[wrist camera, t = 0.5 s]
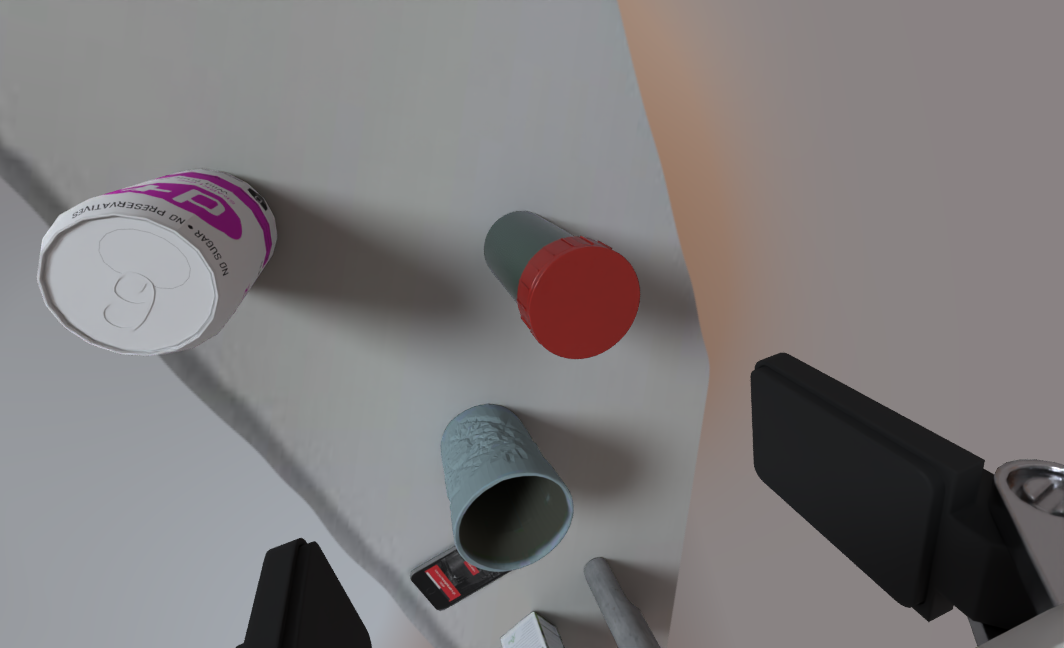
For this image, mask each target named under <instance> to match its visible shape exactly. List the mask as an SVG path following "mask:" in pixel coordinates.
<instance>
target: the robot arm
mask: <svg viewBox="0 0 1064 648" xmlns="http://www.w3.org/2000/svg"><path fill="white" fill-rule="evenodd" d="M751 402H752V428H753V451H754V452H753V455H754V467H755V470H756V472H757V474H758V476H759V477H760V479H761V480H762V481H763V482H764V483H765V484H766V485H767V486H769V487H770V488H771V489H772V490H773V491H774V492H775V493H776V494H778V495H779V496H780V497H781V498H782V499H783V500H784V501H785V502H786V503H788V504H789V505H790V506H791V507H792V508H793V509H794V510H795V511H796V512H798V513H799V514H800V515H801V516H802V517H803V518H804V519H805V520H806V521H808V522H809V523H810V524H811V525H812V526H813V527H814V528H815V529H816V530H818V531H819V532H820V533H821V534H822V535H823V536H824V537H826V538H827V539H828V540H829V541H830V542H831V543H832V544H833V545H834V546H835V547H837V548H838V549H839V550H840V551H841V552H842V553H843V554H844V555H846V556H847V557H848V558H849V559H850V560H851V561H852V562H853V563H854V564H856V565H857V566H858V567H859V568H860V569H861V570H862V571H863V572H864V573H865V574H867V575H868V576H869V577H870V578H871V579H872V580H873V581H874V582H875V583H877V584H878V585H879V586H880V587H881V588H882V589H883V590H884V591H886V592H887V593H888V594H889V595H890V596H891V597H892V598H894V600H896V601H897V602H898V603H900V604H901V605H903V606H905V607H908V608H911V607H912V608H913V609H914V610H916V611H917V612H918V613H919V614H920V615H921V616H922V617H924V618H925V619H926V620H927V621H928V622H930V621H931V620H934V619H935V618H937V617H939V616H941V615H943V614H945V613H947V612H949V611H950V610H952V609H953V605H954V606H955V607H957V608H958V609H959V610H960V611H962V612H963V613H964V614H965V615H966V616H967V617H968V620H969V622H970V625H971V628H972V631H973V634H974V637H975V640H976V643H977V646H978V647H976V648H1064V465H1062V464H1059V463H1055V462H1049V461H1043V460H1016V461H1011V462H1006V463H1005V464H1003V465H1002V466H1000V467H998V468H997V470H996V472H995V474H992V473H990V472H989V471H987V470H985V469H983V467H984V462H985V460H984V459H982V458H980V457H978V456H976V455H974V454H972V453H971V452H969V451H967V450H965V449H963V448H961V447H959V446H957V445H956V444H954V443H952V442H950V441H948V440H947V439H945V438H943V437H941V436H939V435H937V434H935V433H934V432H932V431H930V430H928V429H926V428H924V427H922V426H921V425H919V424H917V423H915V422H913V421H911V420H910V419H908V418H906V417H904V416H902V415H900V414H898V413H897V412H895V411H893V410H891V409H889V408H887V407H885V406H883V405H882V404H880V403H878V402H876V401H874V400H872V399H870V398H869V397H867V396H865V395H863V394H861V393H859V392H858V391H856V390H854V389H852V388H850V387H848V386H847V385H845V384H843V383H841V382H839V381H837V380H835V379H834V378H832V377H830V376H828V375H826V374H824V373H822V372H821V371H819V370H817V369H815V368H813V367H811V366H810V365H807V364H806V363H804V362H802V361H800V360H798V359H796V358H795V357H793V356H791V355H789V354H787V353H779V354H776V355H773V356H771V357H768V358H765V359H763V360H760V361H758V362H757V363H756V365H755V370H754V371H752V373H751ZM236 648H372V646H371V641H370V637H369V633H368V631H367V629H366V627H365V626H364V624H363V622H362V620H361V619H360V617H359V615H358V613H357V612H356V610H355V608H354V606H353V605H352V603H351V601H350V599H349V597H348V596H347V594H346V592H345V590H344V589H343V587H342V586H341V583H340V582H339V580H338V578H337V576H336V575H335V573H334V571H333V569H332V568H331V566H330V564H329V562H328V561H327V559H326V557H325V555H324V553H323V552H322V550H321V548H320V547H319V545H318V544H317V543H316V542H315V541H314V542H311V543H308V544H307V542H306V541H305V540H304V539H303V538H299V539H296V540H293V541H291V542H288V543H286V544H283V545H281V546H278V547H275V548H273V549H270V550H269V551H268V552H267V553H266V556H265V559H264V562H263V566H262V571H261V575H260V579H259V583H258V587H257V591H256V595H255V599H254V603H253V607H252V612H251V616H250V620H249V624H248V628H247V632H246V636H245V640H244V643H243V644H241V645H238V646H237V647H236Z"/></svg>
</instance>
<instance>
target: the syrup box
mask: <svg viewBox="0 0 1064 648" xmlns="http://www.w3.org/2000/svg"><path fill="white" fill-rule="evenodd" d="M501 642H502V646H503V648H565V647H564V645H563V642H562V640H561V637H560V634H559V632H558V629H557V628H556V627H555V626H554V625H552V624H551V623H549V622H548V621H547V620H545V619H544V618H542V617H541V616H539V615H538V614H537V613H535V612H532V613H530V614H529V615H528V616H526V617H525V618H524V619H522V620H521V621H520V622H519V623H517V624H516V625H515V626H514V627H513V628H512V629H510V630H509V631H508V632H507V633H506V634H505V635H504V636H502V637H501Z"/></svg>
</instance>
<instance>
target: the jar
mask: <svg viewBox="0 0 1064 648" xmlns="http://www.w3.org/2000/svg"><path fill="white" fill-rule="evenodd" d="M566 237H575V236H574V235H572V234H570V233H568V232H567V231H565V230H563V229H561V228H560V227H558V226H556V225H555V224H553V223H551V222H549V221H548V220H546V219H544V218H542V217H541V216H539V215H537V214H535V213H532V212H528V211H516V212H512V213H509V214H507V215H505V216H503V217H501V218H500V219H499V220H498V221H496V222H495V223H494V225H493V226H492V227H491V229H490V230H489V232H488V234H487V237H486V239H485V244H484V255H485V260H486V263H487V265H488V267H489V269H490V270H491V272H492V273H493V274H494V275H495V277H496V278H497V279H498V280H499V282H500V283H501V284H502V285H503V287H504V288H505V289H506V290H507V292H508V293H509V294H510V295H511V297H512V298H513V299H514V300H515V301H516V303H517V304H518V302H517V300H516V299H517V291H518V285H519V279H520V278H521V275H522V273H523V271H524V269H525V267H526V265H527V264H528V261H530V260H531V258H532V257H533V256H534V255H535V254H536V253H537V252H538V251H539V250H541V249H542V248H543V247H545V246H546V245H548V244H550V243H552V242H554V241H556V240H559V239H561V238H566Z"/></svg>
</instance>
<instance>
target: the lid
mask: <svg viewBox="0 0 1064 648" xmlns="http://www.w3.org/2000/svg"><path fill="white" fill-rule="evenodd" d="M516 300H517V302H518V308H519V311H520V315H521V319H522V320H523V322H524V323H525V324H526V325H527V327H528V328H529V329H530V332H531V333H532V334H533V336H534V337H535V338H536V340H537V341H538V342H539V343H540V344H542V345H543V347H545V348H546V349H547V350H548V351H550V352H552V353H553V354H555V355H558V356H560V357H564V358H569V359H584V358H589V357H593V356H596V355H598V354H601V353H603V352H605V351H606V350H608V349H610V348H611V347H612V346H614V345H615V344H616V343H617V342H619V341H620V340H621V339H622V337H623V336H624V335H625V334H626V333H627V331H628V330H629V328H630V327H631V325H632V323H633V321H634V319H635V317H636V314H637V311H638V307H639V302H640V287H639V281H638V278H637V275H636V273H635V271H634V269H633V267H632V266H631V264H630V263H629V262H628V261H627V260H626V259H625V258H624V257H623V256H622V255H620V254H619V253H617V252H615V251H614V250H612V248H611V247H609V246H607V245H605V244H604V243H602V242H600V241H595V240H592V239H590V238H585V237H583V236H580V237H576V236H575V237H566V238H561V239H559V240H556V241H554V242H552V243H550V244H548V245H546V246H545V247H543V248H542V249H541V250H539V251H538V252H537V253H536V254H535V255H534V256H533V257H532V258H531V260H530V261H528V264H527V265H526V267H525V269H524V271H523V273H522V275H521V278H520V279H519V285H518V291H517V299H516Z"/></svg>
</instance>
